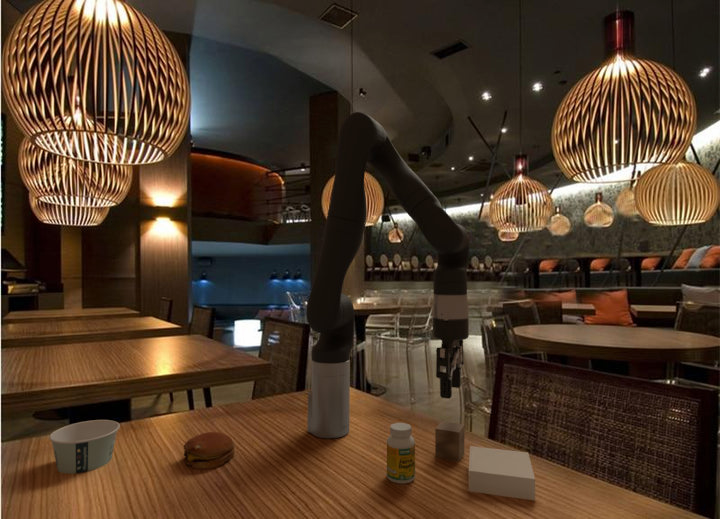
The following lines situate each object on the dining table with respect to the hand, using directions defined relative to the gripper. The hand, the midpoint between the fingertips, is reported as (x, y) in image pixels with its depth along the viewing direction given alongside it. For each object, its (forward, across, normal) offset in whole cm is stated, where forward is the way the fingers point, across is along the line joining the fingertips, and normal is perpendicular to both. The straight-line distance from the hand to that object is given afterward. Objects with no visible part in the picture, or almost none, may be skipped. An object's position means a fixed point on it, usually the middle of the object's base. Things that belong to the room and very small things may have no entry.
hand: (450, 392), depth 92 cm
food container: (+13, +36, -65) cm, 76 cm away
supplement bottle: (+13, +14, -6) cm, 20 cm away
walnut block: (+13, 0, 0) cm, 13 cm away
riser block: (+14, +7, +11) cm, 19 cm away
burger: (+13, +24, -44) cm, 52 cm away
